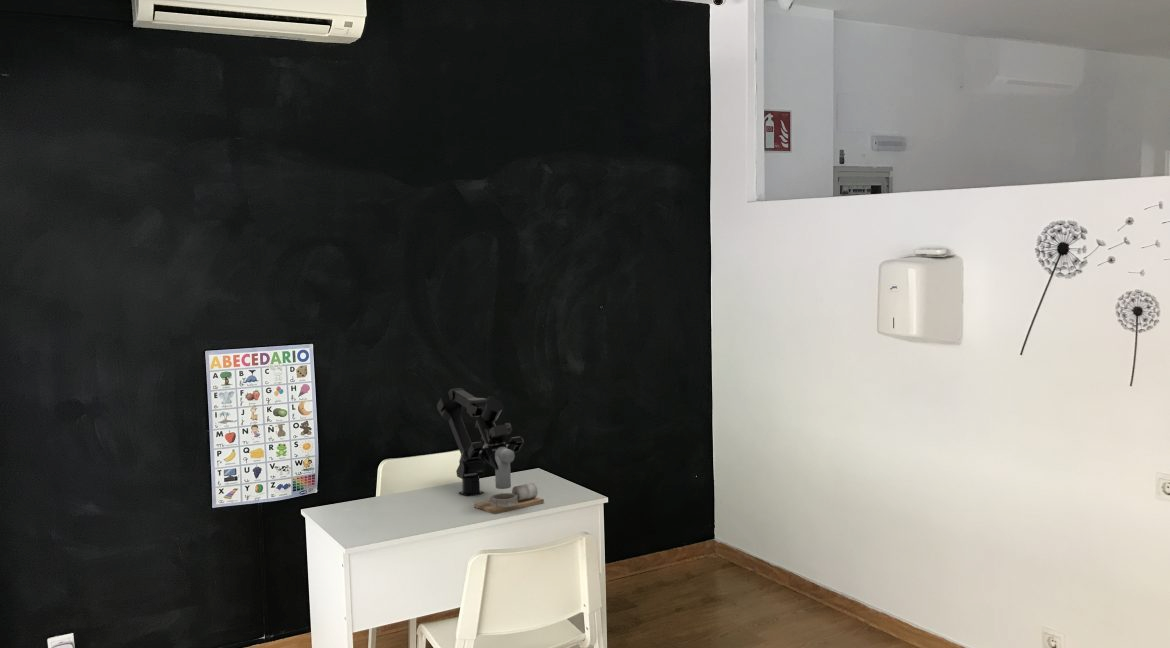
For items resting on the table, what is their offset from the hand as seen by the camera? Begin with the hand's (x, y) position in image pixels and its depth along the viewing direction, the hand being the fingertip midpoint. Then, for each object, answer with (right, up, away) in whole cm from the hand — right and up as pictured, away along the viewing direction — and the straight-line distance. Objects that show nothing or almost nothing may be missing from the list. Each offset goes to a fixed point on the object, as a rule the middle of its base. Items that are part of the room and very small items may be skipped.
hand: (504, 468), depth 297 cm
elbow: (-1, -7, +2) cm, 7 cm away
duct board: (+1, -13, +5) cm, 14 cm away
